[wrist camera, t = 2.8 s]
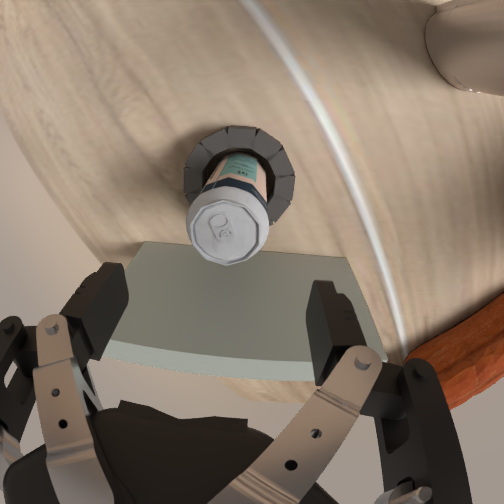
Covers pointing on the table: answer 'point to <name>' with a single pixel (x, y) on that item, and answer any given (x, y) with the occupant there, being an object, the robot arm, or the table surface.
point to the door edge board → (228, 312)
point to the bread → (468, 354)
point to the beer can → (231, 211)
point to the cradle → (243, 139)
